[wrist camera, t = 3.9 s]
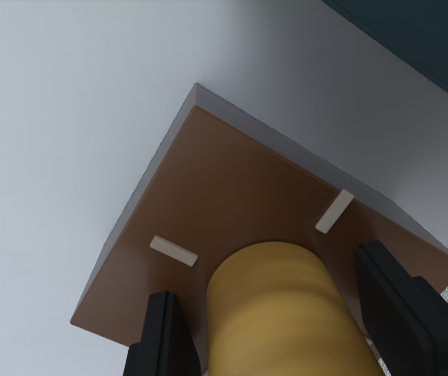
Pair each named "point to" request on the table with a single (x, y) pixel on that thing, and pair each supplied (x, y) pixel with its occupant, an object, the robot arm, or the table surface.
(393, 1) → the teal open box
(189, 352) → the robot arm
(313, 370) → the tap knob
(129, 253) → the block
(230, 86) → the table surface
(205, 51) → the table surface
